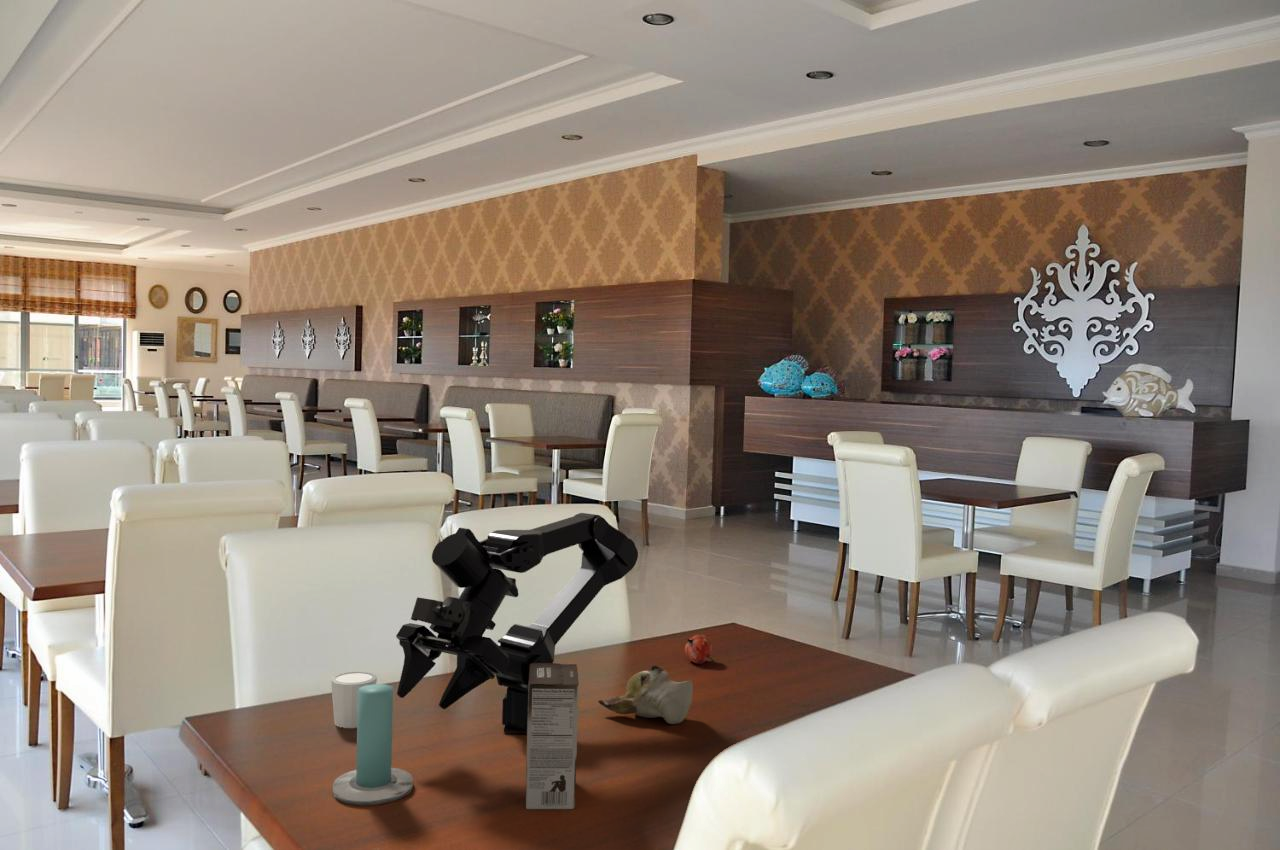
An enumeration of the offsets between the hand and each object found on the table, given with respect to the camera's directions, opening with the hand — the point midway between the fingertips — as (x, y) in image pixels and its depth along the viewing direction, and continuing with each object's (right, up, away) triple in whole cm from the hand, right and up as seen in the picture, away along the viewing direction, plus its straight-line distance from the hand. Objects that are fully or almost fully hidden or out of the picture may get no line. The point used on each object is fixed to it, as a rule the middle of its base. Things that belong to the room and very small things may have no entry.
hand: (420, 701), depth 135 cm
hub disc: (-4, -9, -7) cm, 13 cm away
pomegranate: (+42, -9, +58) cm, 72 cm away
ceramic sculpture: (+32, -10, +25) cm, 42 cm away
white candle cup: (-14, -8, +18) cm, 24 cm away
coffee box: (+19, -10, -7) cm, 22 cm away
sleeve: (-4, -8, -7) cm, 12 cm away
